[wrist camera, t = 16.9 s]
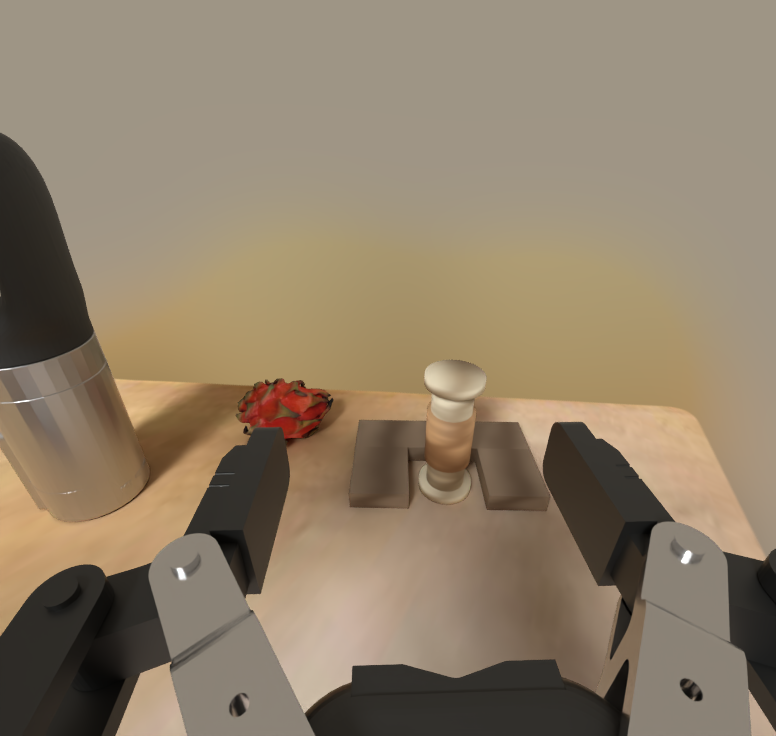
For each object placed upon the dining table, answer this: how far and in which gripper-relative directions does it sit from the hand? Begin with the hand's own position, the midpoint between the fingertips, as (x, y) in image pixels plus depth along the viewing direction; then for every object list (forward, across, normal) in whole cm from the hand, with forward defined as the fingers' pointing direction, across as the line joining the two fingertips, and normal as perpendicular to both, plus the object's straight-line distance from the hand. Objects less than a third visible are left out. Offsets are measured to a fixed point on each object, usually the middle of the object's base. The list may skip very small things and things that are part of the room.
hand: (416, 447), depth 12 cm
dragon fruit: (+32, +13, +24) cm, 42 cm away
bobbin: (+22, -6, +24) cm, 33 cm away
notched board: (+25, -6, +24) cm, 35 cm away
